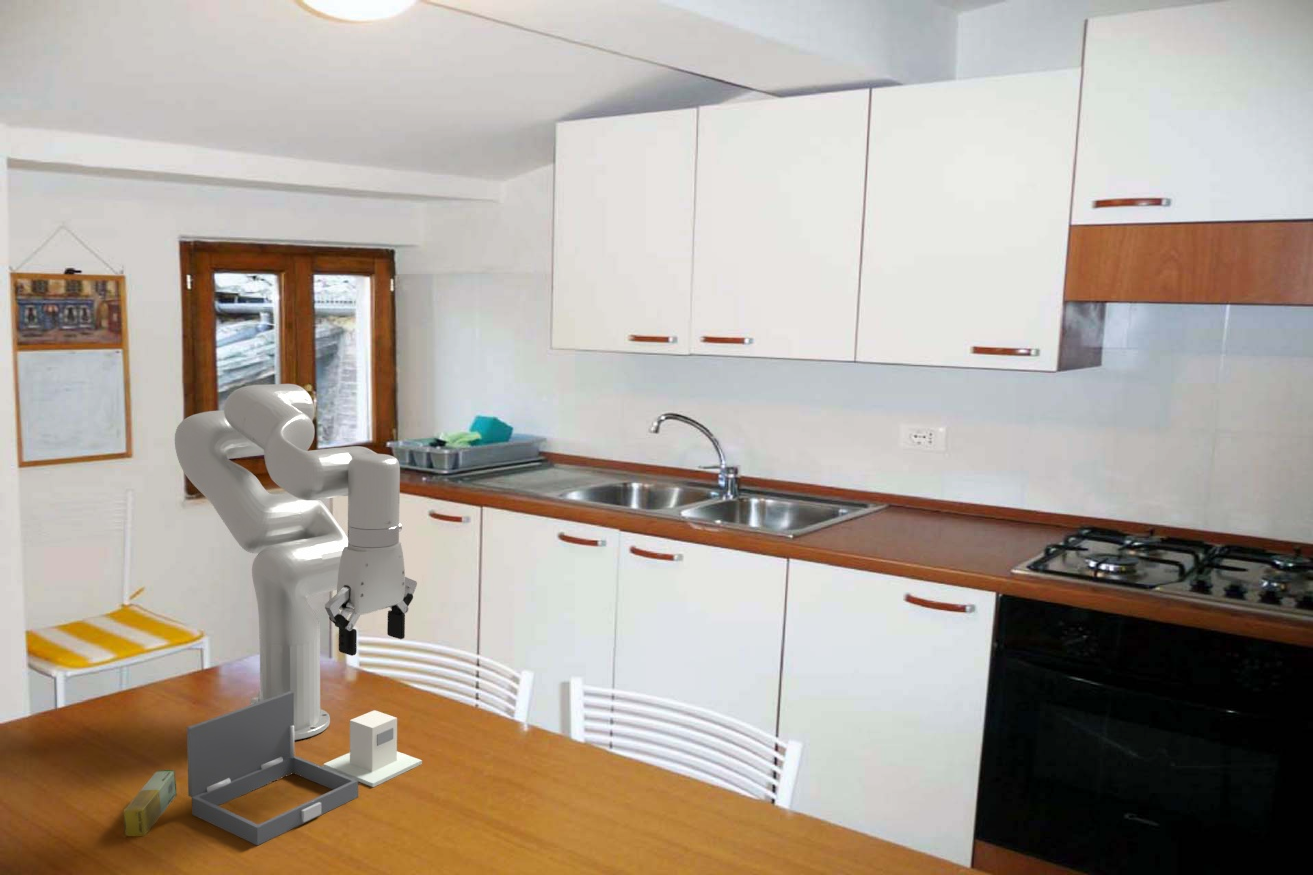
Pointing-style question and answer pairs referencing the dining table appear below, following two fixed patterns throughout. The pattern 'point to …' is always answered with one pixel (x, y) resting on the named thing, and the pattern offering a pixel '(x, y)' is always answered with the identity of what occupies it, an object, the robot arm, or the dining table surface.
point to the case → (255, 768)
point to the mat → (374, 777)
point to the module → (373, 740)
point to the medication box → (150, 803)
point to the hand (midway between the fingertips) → (372, 644)
